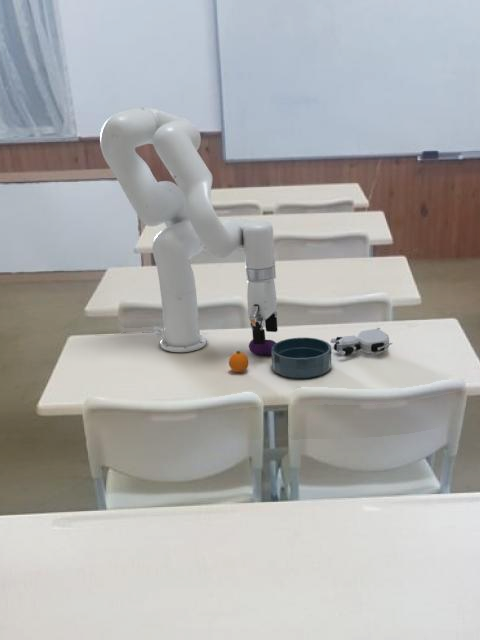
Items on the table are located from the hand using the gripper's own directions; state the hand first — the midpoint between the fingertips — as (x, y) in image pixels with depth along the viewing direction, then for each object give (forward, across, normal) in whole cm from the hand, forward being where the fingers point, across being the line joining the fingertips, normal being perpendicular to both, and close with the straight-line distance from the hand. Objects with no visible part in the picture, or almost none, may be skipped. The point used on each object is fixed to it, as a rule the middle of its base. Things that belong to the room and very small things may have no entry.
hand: (265, 337), depth 225 cm
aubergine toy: (+5, 0, -1) cm, 5 cm away
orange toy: (+5, +13, -3) cm, 14 cm away
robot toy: (+6, -8, +24) cm, 26 cm away
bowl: (+5, +7, +12) cm, 15 cm away
